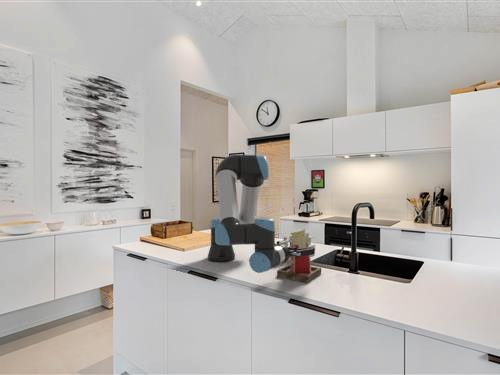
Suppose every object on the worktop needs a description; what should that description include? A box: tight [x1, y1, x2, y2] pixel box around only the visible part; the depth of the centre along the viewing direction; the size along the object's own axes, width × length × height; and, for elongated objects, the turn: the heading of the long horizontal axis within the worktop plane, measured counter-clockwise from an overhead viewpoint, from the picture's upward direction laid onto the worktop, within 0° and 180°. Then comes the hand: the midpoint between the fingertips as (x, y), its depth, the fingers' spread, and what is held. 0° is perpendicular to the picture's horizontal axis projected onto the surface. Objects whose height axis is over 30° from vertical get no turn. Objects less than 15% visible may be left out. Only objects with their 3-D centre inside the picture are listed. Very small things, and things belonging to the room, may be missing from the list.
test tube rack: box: [278, 232, 315, 264], centre depth 164 cm, size 25×4×13 cm, turn 128°
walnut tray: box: [276, 263, 322, 284], centre depth 135 cm, size 15×15×3 cm
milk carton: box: [289, 228, 312, 276], centre depth 135 cm, size 9×9×20 cm
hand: (300, 245), depth 135 cm, fingers open, 13 cm apart
